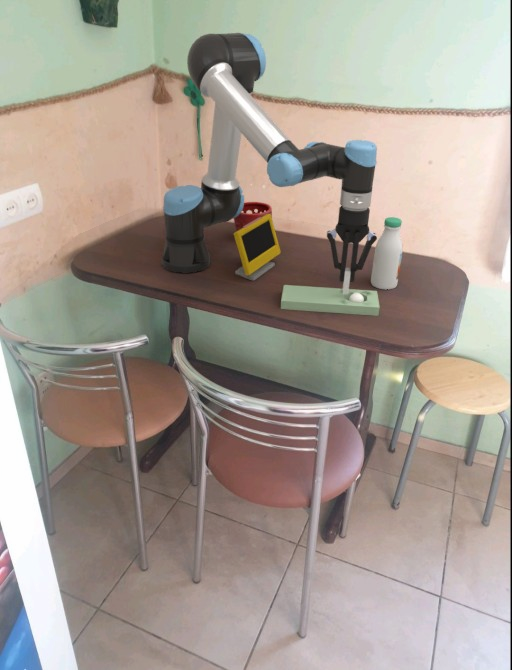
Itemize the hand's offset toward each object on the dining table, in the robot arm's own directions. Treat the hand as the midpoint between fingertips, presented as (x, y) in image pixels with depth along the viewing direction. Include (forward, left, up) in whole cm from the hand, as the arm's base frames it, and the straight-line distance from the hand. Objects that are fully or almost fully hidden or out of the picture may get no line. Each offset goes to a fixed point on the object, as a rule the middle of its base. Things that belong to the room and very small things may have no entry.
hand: (345, 292), depth 147 cm
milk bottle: (+12, +15, -4) cm, 20 cm away
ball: (+3, 0, -2) cm, 4 cm away
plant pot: (-31, +45, -4) cm, 55 cm away
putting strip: (-4, 0, -4) cm, 6 cm away
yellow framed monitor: (-27, +19, -4) cm, 33 cm away
